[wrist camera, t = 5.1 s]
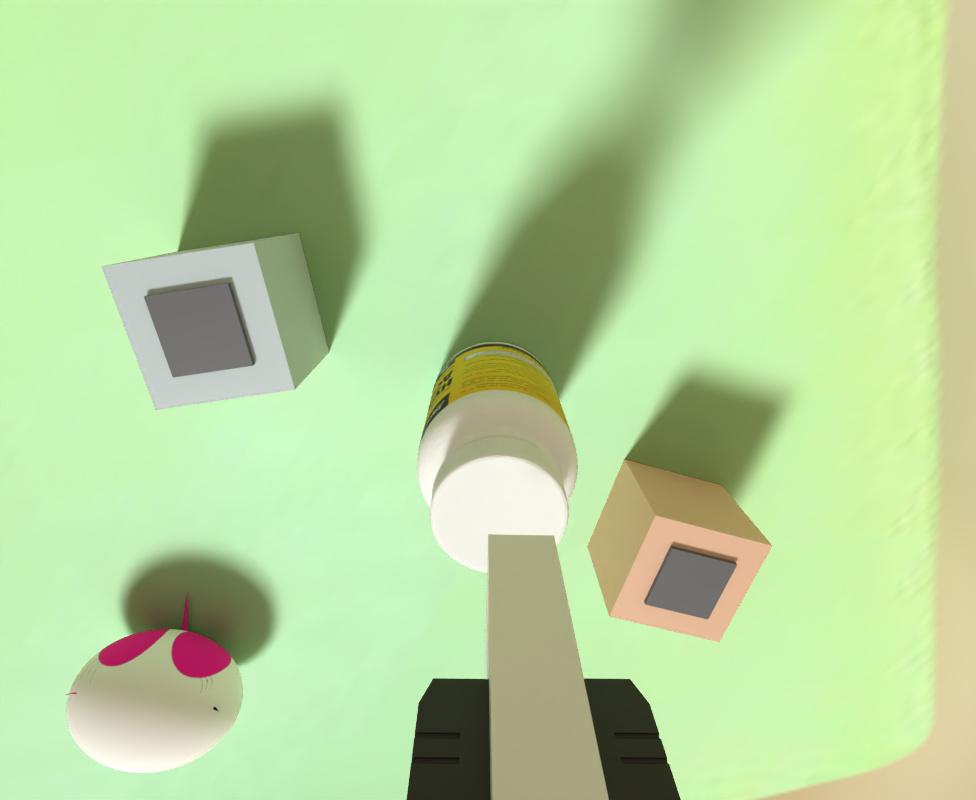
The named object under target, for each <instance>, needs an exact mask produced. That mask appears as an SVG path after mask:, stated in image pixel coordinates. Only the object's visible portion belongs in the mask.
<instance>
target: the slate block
mask: <svg viewBox="0 0 976 800" xmlns="http://www.w3.org/2000/svg"><path fill="white" fill-rule="evenodd" d="M102 269H103V271H104V274H105V277H106V279H107V282H108V285H109V287H110V290H111V293H112V295H113V298H114V300H115V303H116V306H117V308H118V311H119V314H120V316H121V319H122V322H123V324H124V327H125V330H126V332H127V335H128V338H129V340H130V343H131V345H132V348H133V351H134V353H135V356H136V359H137V361H138V364H139V367H140V369H141V372H142V375H143V377H144V380H145V383H146V385H147V388H148V391H149V393H150V396H151V398H152V401H153V404H154V406H155V409H156V410H158V409H165V408H172V407H179V406H186V405H192V404H199V403H206V402H213V401H220V400H226V399H233V398H240V397H247V396H253V395H260V394H267V393H274V392H281V391H287V390H294V389H296V388H297V387H298V385H299V384H300V383H301V382H302V381H303V380H304V379H305V378H306V377H307V376H308V375H309V374H310V372H311V371H312V370H313V369H314V368H315V367H316V366H317V365H318V364H319V363H320V362H321V360H322V359H323V358H324V357H325V356H326V355H327V354H328V353H329V349H328V345H327V341H326V337H325V333H324V329H323V326H322V322H321V318H320V314H319V310H318V306H317V302H316V298H315V294H314V290H313V286H312V282H311V278H310V274H309V270H308V266H307V263H306V259H305V255H304V251H303V247H302V243H301V239H300V235H299V233H294V234H287V235H281V236H274V237H268V238H262V239H255V240H249V241H242V242H236V243H230V244H223V245H217V246H210V247H204V248H198V249H191V250H185V251H178V252H173V253H168V254H163V255H158V256H153V257H148V258H143V259H137V260H132V261H127V262H122V263H117V264H112V265H107V266H102Z"/></svg>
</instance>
